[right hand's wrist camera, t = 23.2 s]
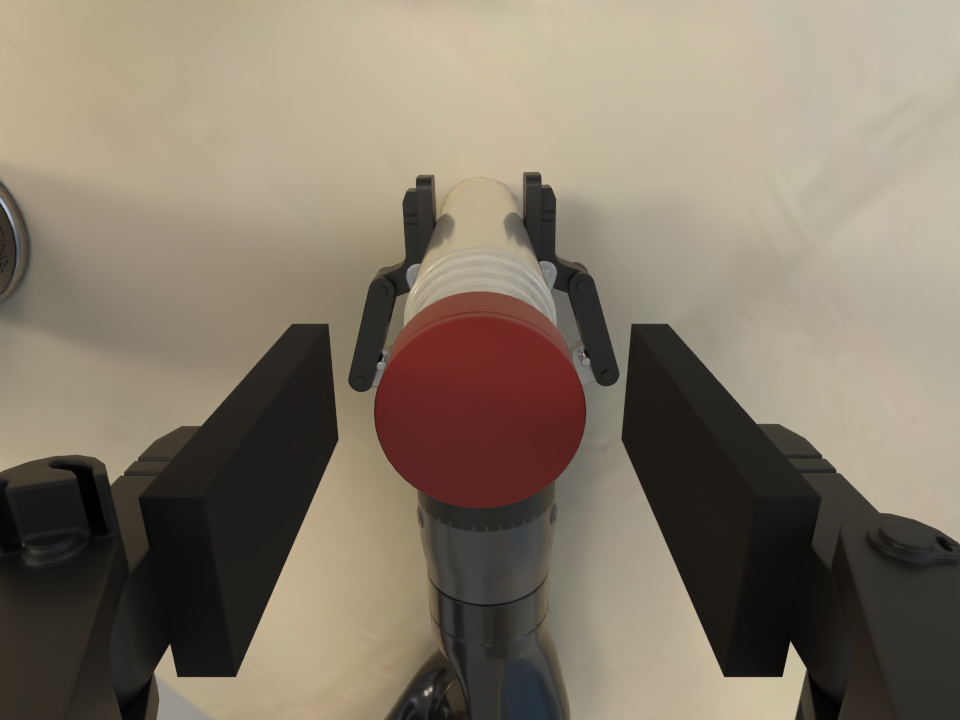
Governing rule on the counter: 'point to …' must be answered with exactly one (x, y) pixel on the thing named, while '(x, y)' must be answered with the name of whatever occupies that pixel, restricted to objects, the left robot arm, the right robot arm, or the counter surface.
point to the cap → (480, 401)
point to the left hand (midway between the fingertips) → (479, 176)
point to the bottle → (480, 251)
